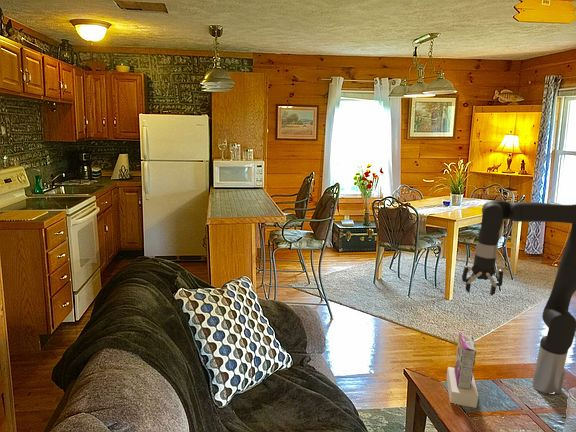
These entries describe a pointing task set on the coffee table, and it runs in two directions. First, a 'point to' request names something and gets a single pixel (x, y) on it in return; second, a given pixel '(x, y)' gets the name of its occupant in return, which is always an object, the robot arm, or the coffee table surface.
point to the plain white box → (461, 391)
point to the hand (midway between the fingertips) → (479, 293)
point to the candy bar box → (465, 361)
